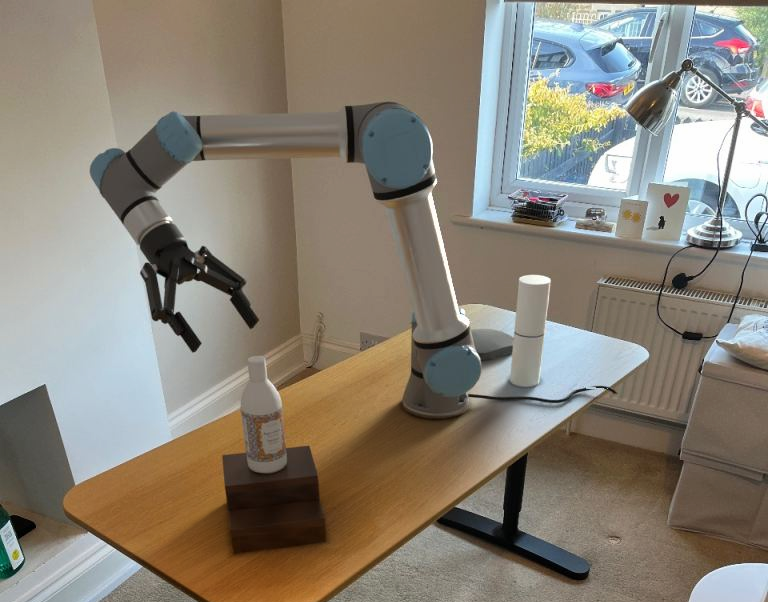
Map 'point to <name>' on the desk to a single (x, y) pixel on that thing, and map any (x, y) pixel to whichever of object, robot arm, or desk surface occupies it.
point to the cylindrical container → (529, 329)
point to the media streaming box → (491, 343)
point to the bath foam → (262, 420)
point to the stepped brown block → (273, 503)
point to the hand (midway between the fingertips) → (227, 336)
